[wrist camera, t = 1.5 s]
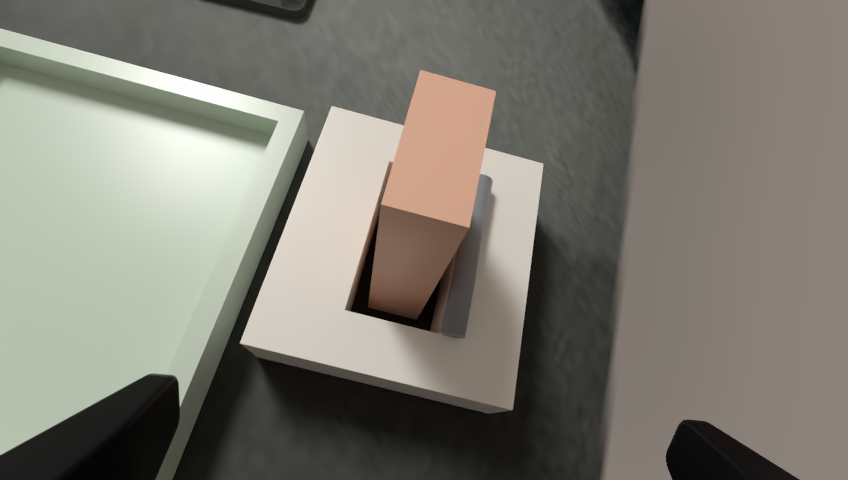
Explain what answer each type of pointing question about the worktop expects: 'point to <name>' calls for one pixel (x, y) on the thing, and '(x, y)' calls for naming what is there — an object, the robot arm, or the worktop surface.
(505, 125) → the worktop surface
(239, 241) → the tray
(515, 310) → the white slotted base
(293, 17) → the smartphone
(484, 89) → the salmon pink rectangular block
